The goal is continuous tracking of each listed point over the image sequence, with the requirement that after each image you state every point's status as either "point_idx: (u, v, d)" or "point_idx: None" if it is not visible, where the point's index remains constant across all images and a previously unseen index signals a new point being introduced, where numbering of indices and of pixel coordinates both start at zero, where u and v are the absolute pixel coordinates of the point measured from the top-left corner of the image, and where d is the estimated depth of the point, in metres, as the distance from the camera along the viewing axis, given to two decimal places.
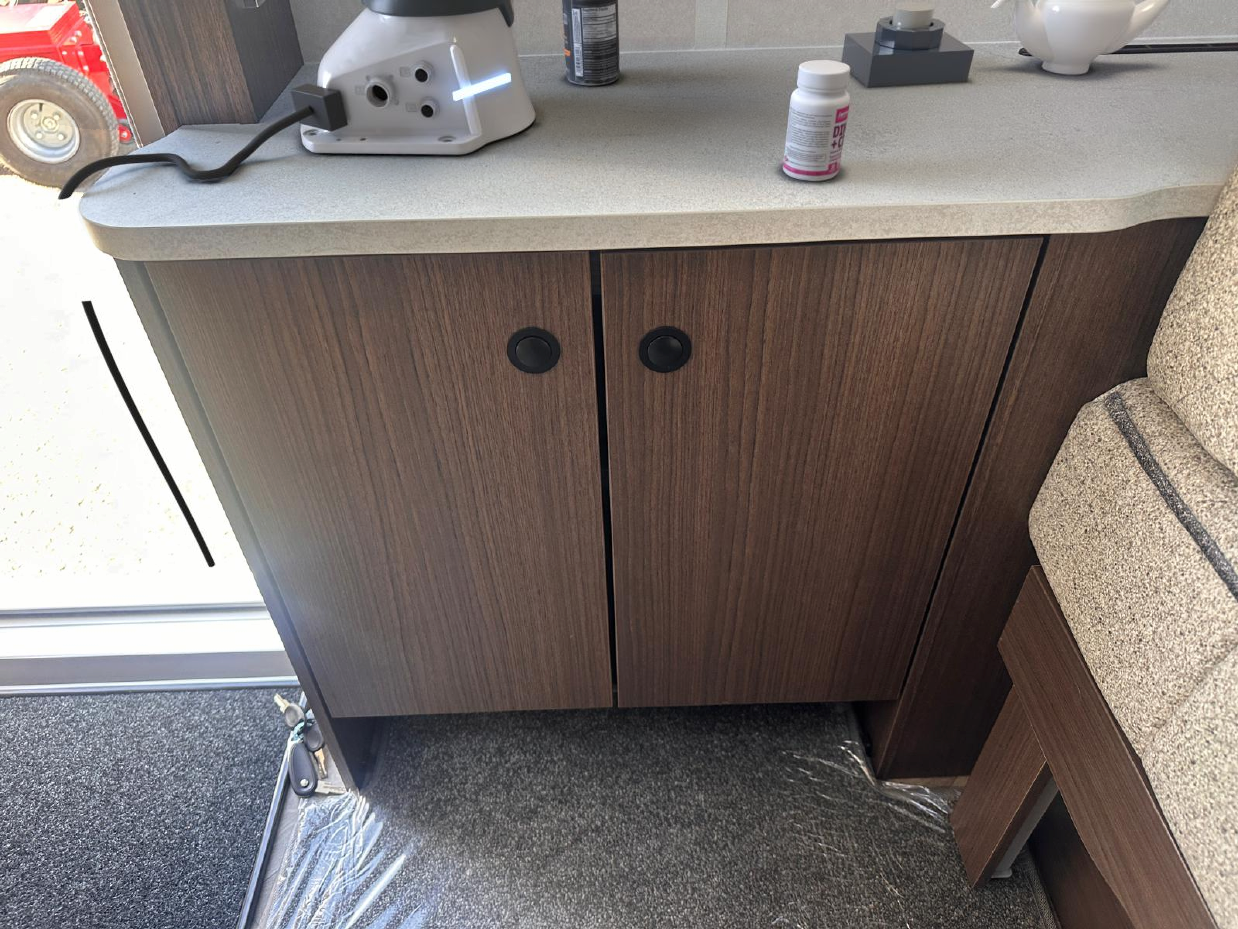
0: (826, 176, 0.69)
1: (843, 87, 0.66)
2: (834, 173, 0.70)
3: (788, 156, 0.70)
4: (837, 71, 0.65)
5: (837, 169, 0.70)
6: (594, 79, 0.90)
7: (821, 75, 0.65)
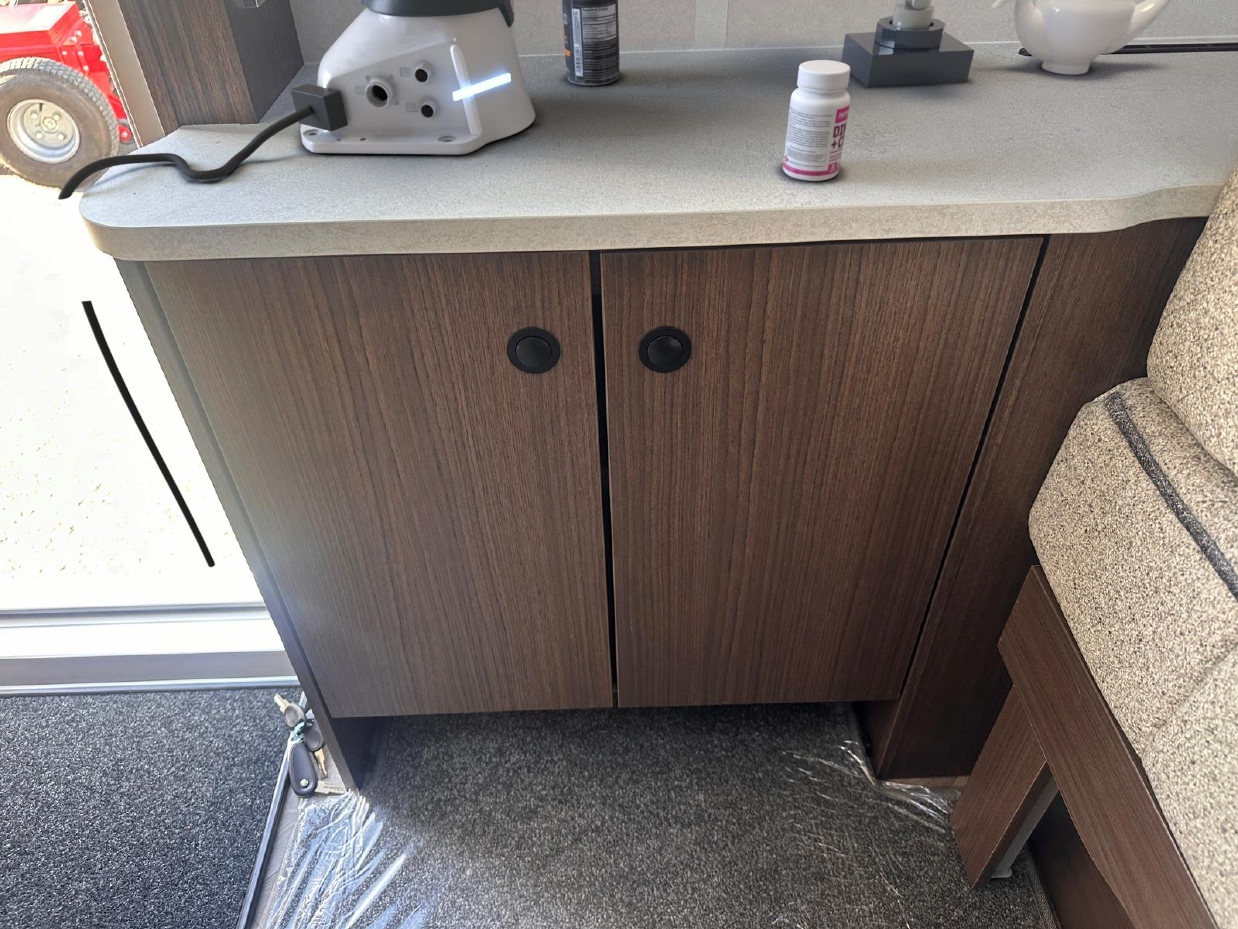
0: (826, 176, 0.69)
1: (843, 87, 0.66)
2: (834, 173, 0.70)
3: (788, 156, 0.70)
4: (837, 71, 0.65)
5: (837, 169, 0.70)
6: (594, 79, 0.90)
7: (822, 75, 0.65)
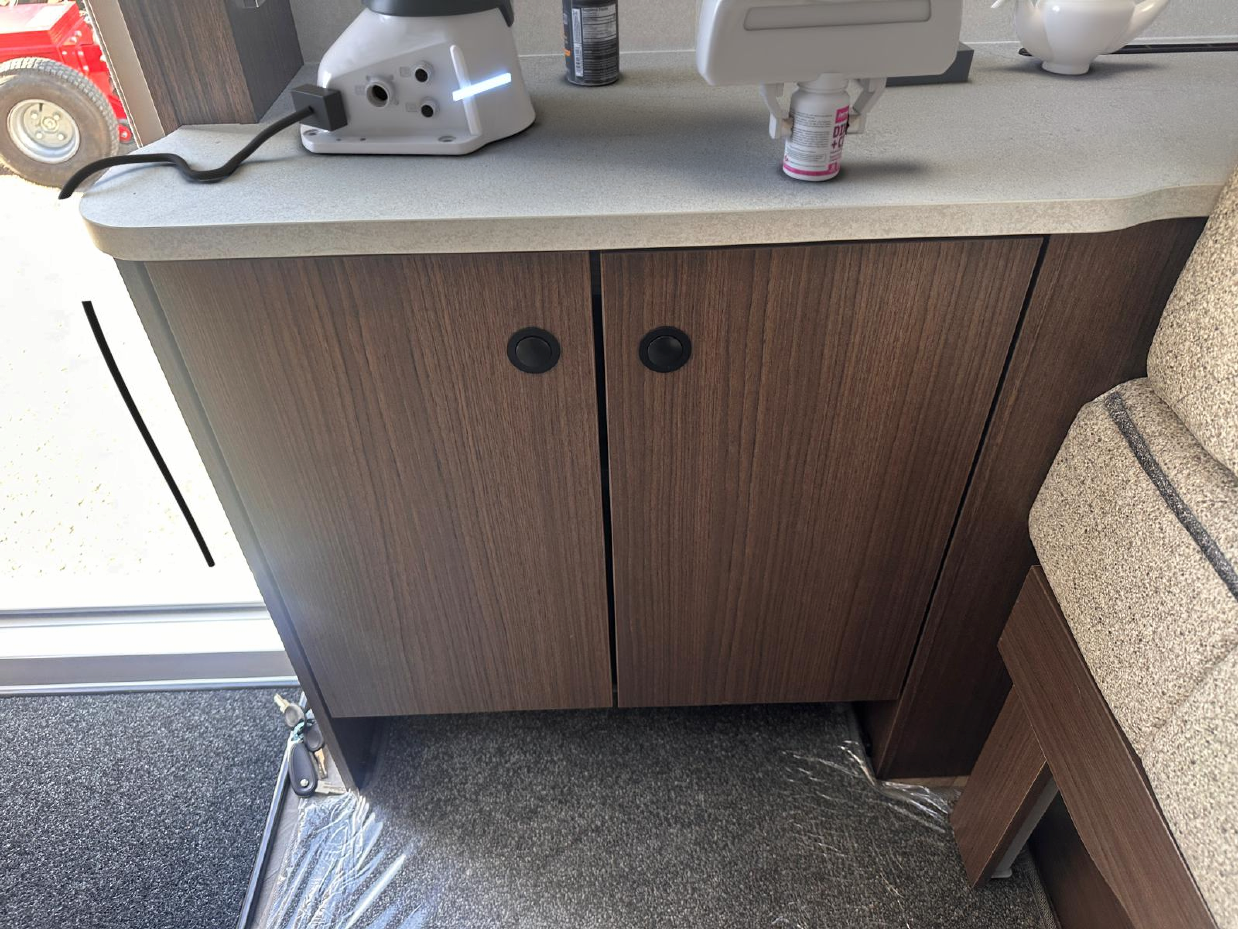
0: (826, 176, 0.69)
1: (843, 87, 0.66)
2: (834, 173, 0.70)
3: (788, 156, 0.70)
4: None
5: (837, 169, 0.70)
6: (594, 79, 0.90)
7: (821, 75, 0.65)
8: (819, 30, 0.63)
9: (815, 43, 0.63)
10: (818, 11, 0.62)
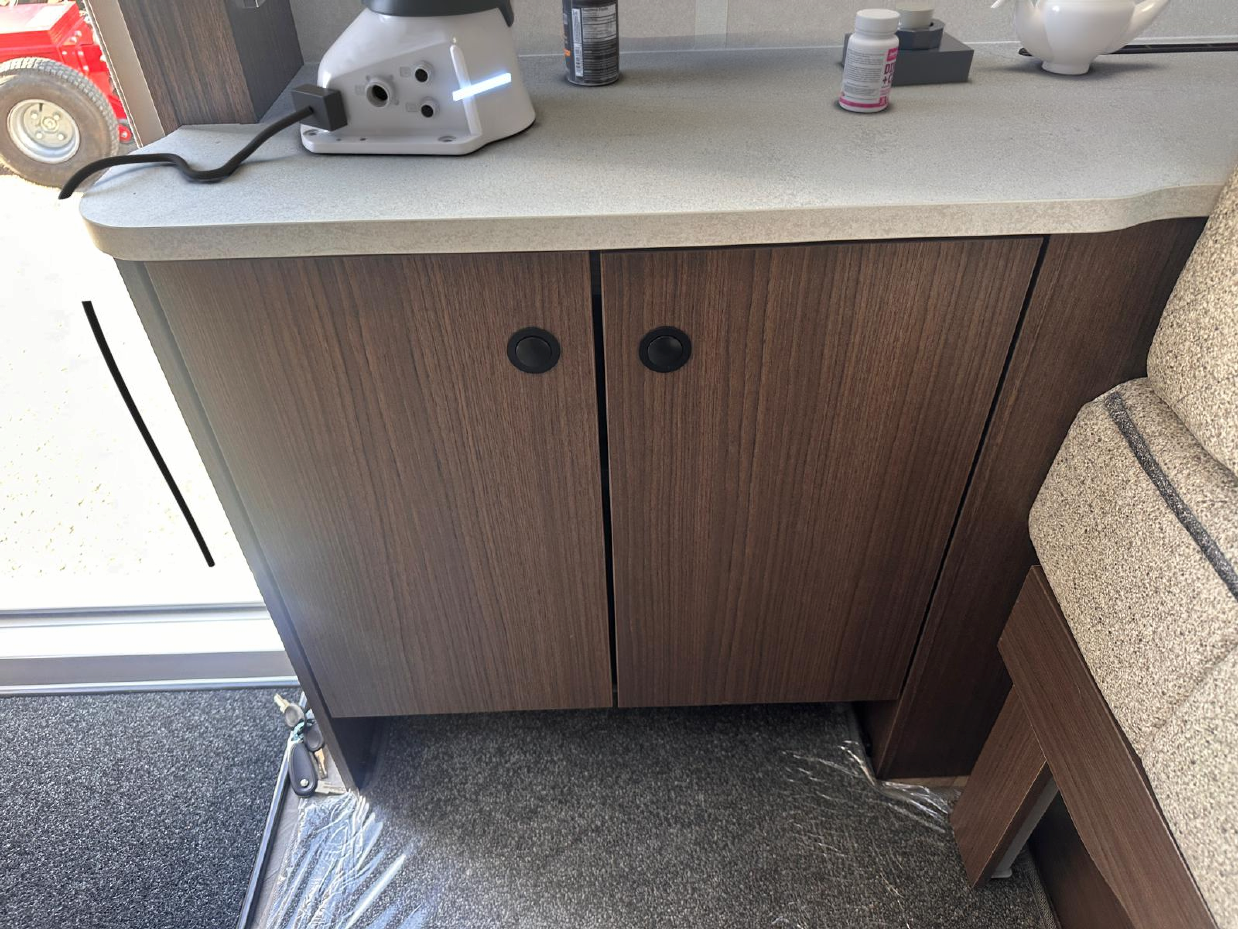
0: (877, 108, 0.82)
1: (894, 30, 0.78)
2: (884, 106, 0.83)
3: (845, 92, 0.82)
4: (889, 16, 0.78)
5: (886, 102, 0.83)
6: (594, 79, 0.90)
7: (876, 19, 0.77)
8: None
9: None
10: None
